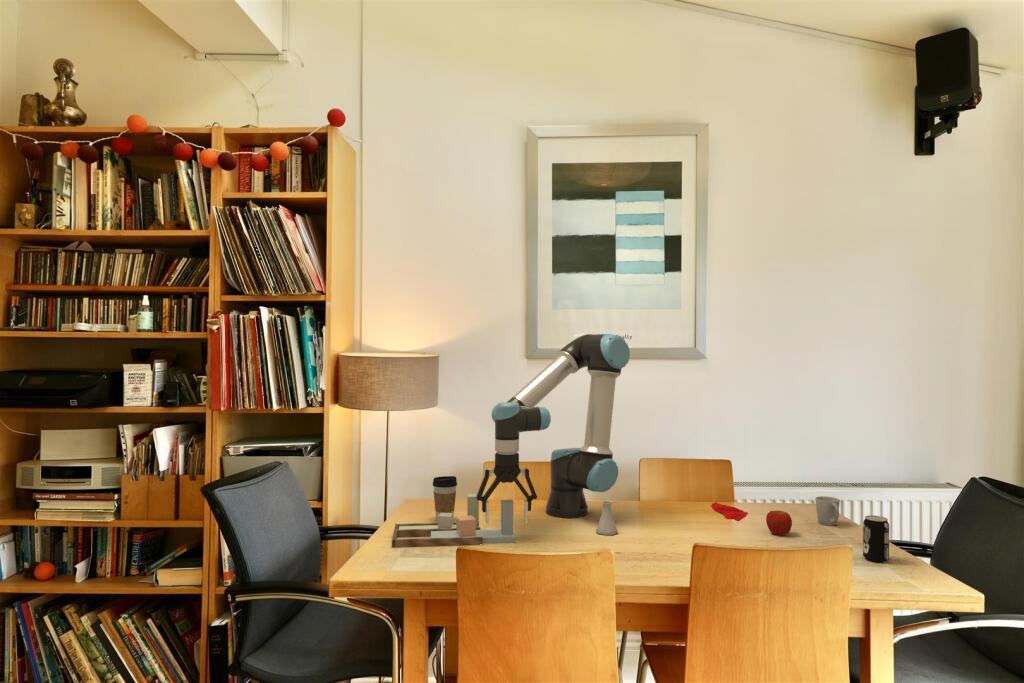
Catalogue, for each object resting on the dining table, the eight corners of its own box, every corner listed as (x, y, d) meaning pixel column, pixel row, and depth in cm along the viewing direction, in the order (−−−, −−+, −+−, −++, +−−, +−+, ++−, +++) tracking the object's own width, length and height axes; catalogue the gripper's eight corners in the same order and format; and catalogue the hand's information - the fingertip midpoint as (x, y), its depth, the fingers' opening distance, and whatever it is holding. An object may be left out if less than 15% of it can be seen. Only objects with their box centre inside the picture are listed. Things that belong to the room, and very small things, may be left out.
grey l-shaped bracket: (478, 529, 222) (478, 493, 222) (479, 534, 217) (479, 497, 217) (399, 531, 219) (399, 495, 219) (398, 536, 214) (398, 498, 214)
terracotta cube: (471, 531, 214) (472, 515, 214) (475, 535, 209) (475, 519, 209) (456, 532, 212) (456, 516, 212) (459, 536, 207) (459, 520, 207)
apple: (780, 539, 214) (780, 514, 214) (760, 532, 221) (760, 508, 221) (797, 535, 218) (797, 511, 218) (777, 529, 225) (777, 506, 225)
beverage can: (858, 556, 197) (858, 515, 197) (879, 555, 198) (880, 514, 198) (872, 563, 191) (872, 521, 191) (894, 563, 191) (894, 520, 191)
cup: (831, 520, 236) (831, 496, 236) (848, 528, 226) (848, 503, 226) (810, 521, 236) (810, 496, 236) (826, 529, 226) (827, 503, 226)
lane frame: (478, 529, 223) (478, 521, 223) (482, 545, 206) (482, 537, 206) (395, 531, 220) (395, 523, 220) (392, 548, 202) (392, 540, 202)
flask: (620, 530, 222) (620, 500, 222) (615, 536, 215) (616, 505, 215) (598, 528, 225) (598, 498, 225) (593, 534, 218) (593, 503, 218)
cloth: (754, 524, 233) (754, 518, 233) (713, 522, 235) (713, 516, 235) (743, 506, 258) (743, 500, 258) (705, 504, 261) (705, 498, 261)
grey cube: (453, 525, 220) (453, 513, 220) (450, 529, 216) (450, 516, 216) (441, 525, 220) (441, 512, 220) (437, 528, 216) (437, 516, 216)
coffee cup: (453, 524, 228) (453, 480, 228) (429, 523, 230) (429, 479, 230) (459, 518, 236) (460, 475, 236) (436, 517, 238) (436, 474, 238)
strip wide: (511, 534, 216) (511, 497, 216) (514, 542, 208) (515, 504, 208) (430, 536, 214) (431, 499, 213) (430, 545, 205) (430, 505, 205)
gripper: (542, 449, 217) (542, 517, 217) (468, 450, 214) (467, 519, 214) (546, 453, 210) (546, 524, 210) (469, 454, 207) (468, 526, 207)
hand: (506, 522), depth 212 cm, fingers open, 11 cm apart
